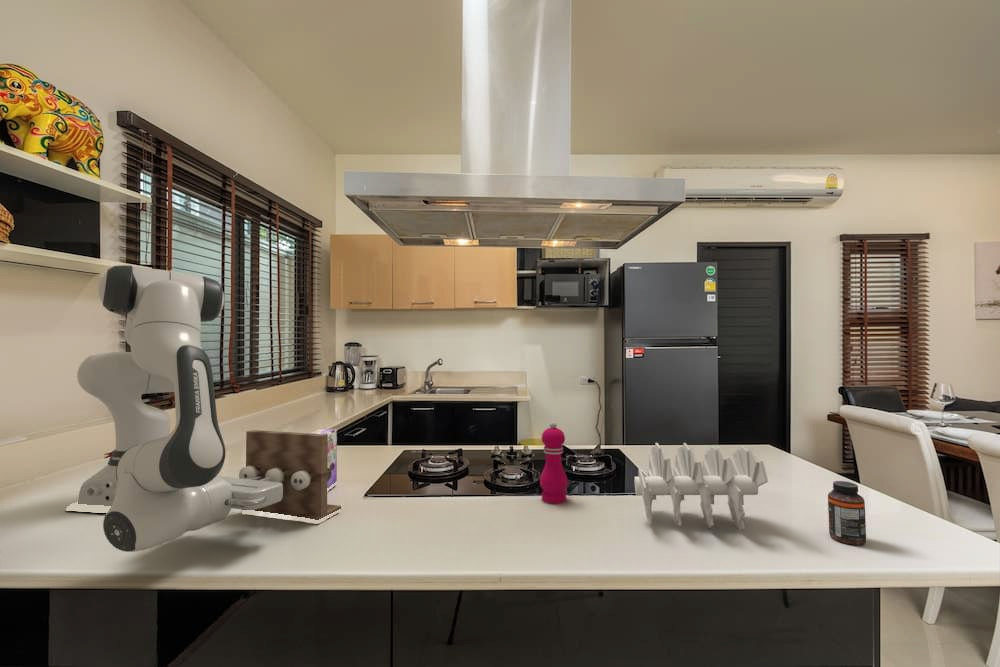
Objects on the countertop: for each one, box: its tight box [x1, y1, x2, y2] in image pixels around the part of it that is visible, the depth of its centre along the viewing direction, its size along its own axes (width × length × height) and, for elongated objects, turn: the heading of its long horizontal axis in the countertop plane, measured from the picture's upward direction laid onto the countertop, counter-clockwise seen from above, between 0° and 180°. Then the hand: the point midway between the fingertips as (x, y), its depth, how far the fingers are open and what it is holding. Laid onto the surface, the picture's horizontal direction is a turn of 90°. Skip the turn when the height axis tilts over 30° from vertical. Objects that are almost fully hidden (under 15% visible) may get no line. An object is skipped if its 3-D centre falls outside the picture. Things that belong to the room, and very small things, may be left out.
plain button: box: [265, 468, 286, 483], centre depth 105 cm, size 4×6×4 cm
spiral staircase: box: [633, 442, 769, 530], centre depth 100 cm, size 18×18×25 cm
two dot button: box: [291, 470, 312, 490], centre depth 102 cm, size 4×6×4 cm
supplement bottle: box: [827, 480, 867, 546], centre depth 91 cm, size 6×6×11 cm
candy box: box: [309, 428, 338, 488], centre depth 123 cm, size 14×6×16 cm, turn 179°
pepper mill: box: [539, 421, 569, 504], centre depth 116 cm, size 7×7×20 cm
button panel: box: [245, 429, 342, 520], centre depth 108 cm, size 22×8×20 cm, turn 72°
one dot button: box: [238, 466, 261, 479], centre depth 107 cm, size 4×6×4 cm
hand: (265, 480), depth 100 cm, fingers closed
